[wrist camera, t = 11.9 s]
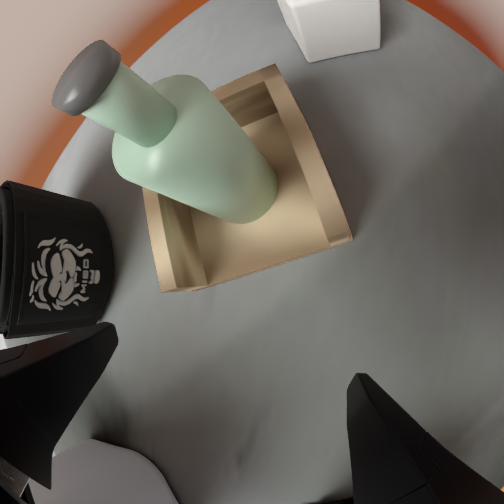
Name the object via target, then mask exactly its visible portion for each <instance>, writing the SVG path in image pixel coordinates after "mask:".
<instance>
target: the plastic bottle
mask: <svg viewBox="0 0 504 504" xmlns="http://www.w3.org/2000/svg"><path fill="white" fill-rule="evenodd" d="M28 483H29V486H30V489H31V493H32V496H33V499H34V502H35V504H179V503H178V502H177V500H176V498H175V496H174V495H173V493H172V491H171V489H170V487H169V486H168V484H167V482H166V480H165V478H164V476H163V475H162V473H161V472H160V471H159V470H158V468H157V467H156V466H155V465H154V464H153V463H152V462H150V461H149V460H148V459H147V458H145V457H144V456H143V455H141V454H139V453H137V452H135V451H133V450H130V449H126V448H122V447H119V446H115V445H111V444H108V443H104V442H101V441H98V440H95V439H86V440H83V441H82V442H80V443H78V444H76V445H75V446H73V447H71V448H69V449H67V450H66V451H64V452H62V453H60V454H58V455H56V456H54V457H53V458H52V488H51V490H49V489H47V488H45V487H44V486H42V485H40V484H39V483H37V482H36V481H34V480H32V479H31V478H30V480H29V481H28Z"/></svg>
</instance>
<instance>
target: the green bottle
mask: <svg viewBox="0 0 504 504" xmlns="http://www.w3.org/2000/svg"><path fill="white" fill-rule="evenodd" d="M120 61H121V55H120V53H119V52H118V51H116V50H115V49H114V48H112V47H111V46H110V45H108V44H107V43H106V42H105V41H103V40H98V41H95V42H94V43H92V44H90V45H89V46H87V47H86V48H85V49H84V50H83V51H82V52H80V53H79V54H78V55H77V56H76V58H75V59H74V60H73V61H72V62H71V63H70V65H69V66H68V67H67V69H66V70H65V72H64V73H63V75H62V76H61V78H60V80H59V82H58V84H57V86H56V88H55V90H54V93H53V98H52V105H53V106H54V107H55V108H57V109H59V110H61V111H63V112H65V113H67V114H69V115H71V116H77V115H80V114H82V115H85V116H86V117H88V118H90V119H92V120H94V121H96V122H98V123H99V124H101V125H103V126H105V127H107V128H109V129H110V130H112V131H114V132H115V134H114V138H113V143H112V159H113V163H114V166H115V169H116V170H117V172H118V173H119V175H120V176H121V177H123V178H124V179H126V180H128V181H130V182H132V183H135V184H137V185H140V186H142V187H145V188H147V189H150V190H152V191H155V192H157V193H160V194H162V195H165V196H167V197H169V198H172V199H174V200H177V201H179V202H182V203H184V204H186V205H189V206H191V207H194V208H196V209H198V210H201V211H203V212H206V213H208V214H210V215H213V216H215V217H218V218H220V219H222V220H225V221H227V222H230V223H233V224H246V223H250V222H253V221H255V220H257V219H259V218H260V217H262V216H263V215H264V214H265V213H267V211H268V210H269V209H270V208H271V206H272V205H273V203H274V201H275V198H276V195H277V191H278V181H277V176H276V174H275V171H274V170H273V168H272V167H271V165H270V164H269V163H268V161H267V160H266V159H265V157H264V156H263V155H262V154H261V152H260V151H259V150H258V148H257V147H256V146H255V145H254V143H253V142H252V141H251V139H250V138H249V137H248V136H247V134H246V133H245V132H244V131H243V129H242V128H241V127H240V126H239V125H238V123H237V122H236V121H235V120H234V118H233V117H232V116H231V115H230V114H229V112H228V111H227V110H226V109H225V108H224V106H223V105H222V104H221V103H220V102H219V101H218V99H217V98H216V97H215V96H214V95H213V94H212V92H211V91H210V90H209V89H208V88H207V87H206V85H205V84H204V83H203V82H202V81H201V80H199V79H198V78H196V77H193V76H190V75H175V76H170V77H167V78H164V79H162V80H160V81H158V82H156V83H154V84H152V85H149V84H148V83H147V82H146V81H144V80H143V79H142V78H141V77H139V76H138V75H137V74H136V73H134V72H133V71H132V70H131V69H129V68H128V67H127V66H126V65H124V64H123V63H122V62H120Z"/></svg>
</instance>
